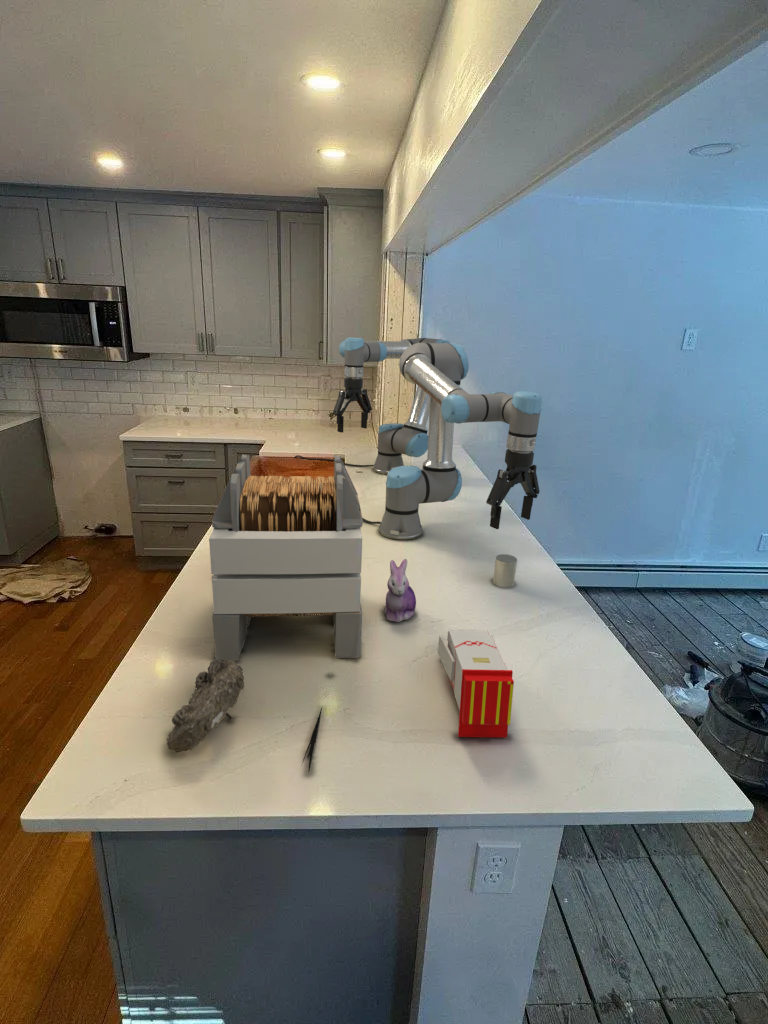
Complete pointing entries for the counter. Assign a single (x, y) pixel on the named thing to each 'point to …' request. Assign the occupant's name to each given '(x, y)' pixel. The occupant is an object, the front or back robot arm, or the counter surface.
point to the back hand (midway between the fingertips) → (352, 430)
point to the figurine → (399, 594)
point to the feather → (313, 740)
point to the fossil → (206, 705)
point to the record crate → (286, 555)
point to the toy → (478, 682)
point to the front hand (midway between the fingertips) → (510, 522)
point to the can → (505, 570)
